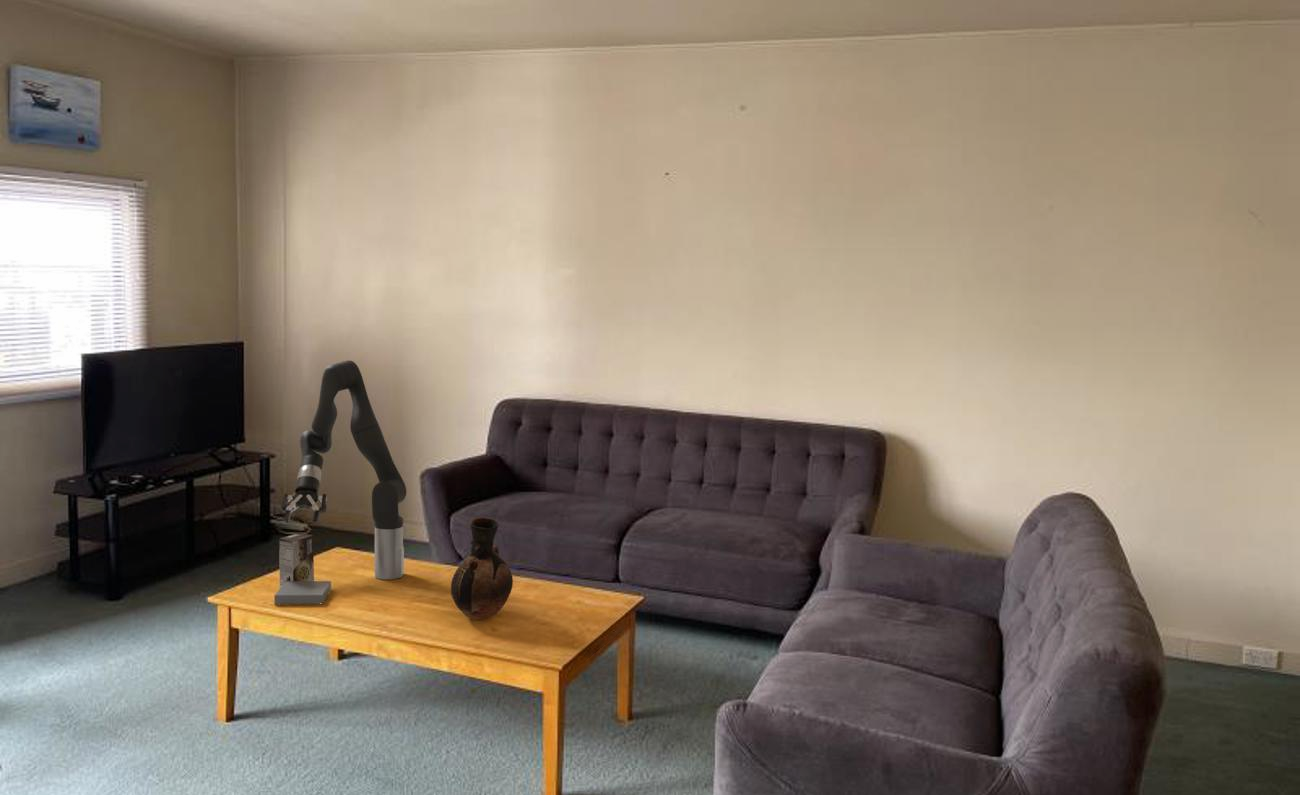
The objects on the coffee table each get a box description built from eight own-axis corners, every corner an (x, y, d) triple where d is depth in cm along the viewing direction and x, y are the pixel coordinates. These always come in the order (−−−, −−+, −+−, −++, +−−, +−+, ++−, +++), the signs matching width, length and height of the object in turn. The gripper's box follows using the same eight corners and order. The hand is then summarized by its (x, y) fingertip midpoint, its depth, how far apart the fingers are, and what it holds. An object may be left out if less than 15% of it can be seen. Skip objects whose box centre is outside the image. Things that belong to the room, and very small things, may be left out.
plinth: (331, 590, 311) (331, 581, 311) (322, 604, 298) (321, 594, 297) (285, 590, 310) (285, 581, 309) (274, 604, 296) (274, 595, 296)
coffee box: (300, 579, 321) (299, 532, 319) (314, 582, 319) (314, 534, 317) (278, 586, 313) (278, 538, 311) (293, 590, 310) (292, 540, 309)
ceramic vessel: (474, 601, 305) (476, 508, 302) (524, 610, 299) (526, 515, 295) (437, 622, 285) (438, 523, 282) (489, 632, 279) (490, 530, 276)
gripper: (284, 474, 326) (276, 516, 316) (328, 475, 328) (321, 516, 318) (288, 486, 332) (280, 528, 322) (331, 487, 334) (324, 528, 324)
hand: (300, 522), depth 320 cm, fingers open, 8 cm apart
